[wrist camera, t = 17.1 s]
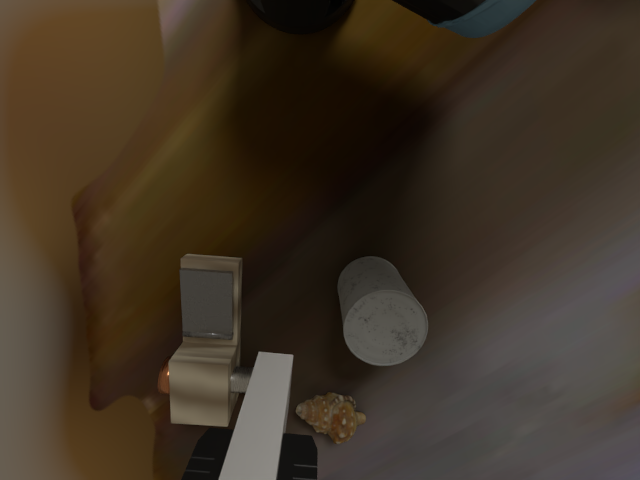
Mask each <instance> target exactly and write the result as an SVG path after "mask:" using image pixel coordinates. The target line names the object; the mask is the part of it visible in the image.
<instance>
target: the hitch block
mask: <svg viewBox="0 0 640 480" xmlns="http://www.w3.org/2000/svg"><path fill="white" fill-rule="evenodd" d="M181 268H195V269H209V270H222V271H233V332H234V336H233V340H223V339H209V338H194V337H183V343H182V344H181V345H180V347H179V348H178V349H177V351H176V352H175V353H174V355H173V356H172V358H171V359H170V360H169V362H168V363H169V386H170V409H171V423H177V424H193V425H209V426H225V427H228V424H229V421H230V418H231V416H232V413H233V410H234V407H235V404H236V401H237V398H238V395H239V393H234V392H231V375H232V372H233V370H234V367H235V366H240V344H241V294H242V258H235V257H222V256H209V255H195V254H186V255H185V256H183V257H182V258H181Z"/></svg>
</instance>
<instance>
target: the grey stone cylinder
mask: <svg viewBox="0 0 640 480" xmlns="http://www.w3.org/2000/svg"><path fill="white" fill-rule="evenodd" d="M337 286H338V295H339V300H340V307H341V314H342V321H343V332H344V338H345V341H346V344H347V346H348V347H349V349H350V351H351V352H352V353H353V354H354V355H355V356H356V357H357V358H359V359H361V360H362V361H364V362H366V363H369V364H372V365H378V366H391V365H395V364H399V363H402V362H404V361H406V360H408V359H409V358H411V357H412V356H413V355H415V354H416V353H417V352H418V350H419V349H420V348H421V347H422V345H423V343H424V341H425V340H426V336H427V332H428V320H427V315H426V313H425V311H424V309H423V307H422V305H421V304H420V303H419V302H418V301H417V300H416V298H415V297H414V295H413V294H412V292H411V291H410V289H409V288H408V286H407V285H406V283H405V282H404V280H403V279H402V278H401V276H400V275H399V273H398V271H397V269H396V268H395V267H394V266H393V265H392V264H391V263H390V262H388V261H387V260H385V259H382V258H380V257H374V256H367V257H362V258H358V259H356V260H354V261H352V262H351V263H350V264H348V265H347V266H346V267H345V268H344V270H343V271H342V272H341V275H340V277H339V280H338V285H337Z"/></svg>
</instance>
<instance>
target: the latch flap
mask: <svg viewBox="0 0 640 480" xmlns="http://www.w3.org/2000/svg"><path fill="white" fill-rule="evenodd" d="M180 286H181V304H182V323H183V337H194V338H209V339H223V340H233V336H234V332H233V271H222V270H209V269H195V268H181V269H180Z"/></svg>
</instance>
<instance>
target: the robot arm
mask: <svg viewBox="0 0 640 480" xmlns="http://www.w3.org/2000/svg"><path fill="white" fill-rule="evenodd" d="M246 1H247V2H248V4H249V5H250V7H251V8H252V9H253V11H254V12H255V13H256V14H257V15H258V16H259V17H260V18H261V19H262V20H264V21H265V22H266V23H268V24H269V25H271V26H272V27H274V28H276V29H278V30H281V31H284V32H287V33H293V34H308V33H313V32H317V31H320V30H322V29H324V28H327V27H328V26H330V25H332V24H333V23H334V22H336V21H337V20H338V19H339V18H340V17H341V16H342V15H343V14H344V13H345V12H346V11H347V9H348V8H349V7H350V5H351V4H352V2H353V0H246ZM392 1H394V2H396V3H398V4H400V5H401V6H403V7H405V8H407V9H409V10H411V11H412V12H414V13H416V14H418V15H420V16H422V17H423V18H425V19H427V21H428V22H429V23H430V24H432V25H433V26H437V27H445V28H447V29H449V30H451V31H453V32H455V33H457V34H460V35H462V36H464V37H469V38H479V37H483V36H487V35H489V34H491V33H494V32H496V31H498V30H499V29H501V28H503V27H504V26H506V25H507V24H509V23H510V22H511V21H513V20H514V19H515V18H517V17H518V16H519V15H520V14H521V13H523V12H524V11H525V10H526V9H527V8H529V7H530V6H531V5H532V4H533V3H534V2H535V1H536V0H392ZM292 364H293V355H289V354H279V353H268V352H259V353H258V356H257V359H256V362H255V366H254V369H253V372H252V375H251V378H250V381H249V385H248V388H247V391H246V394H245V397H244V401H243V404H242V407H241V410H240V413H239V416H238V420H237V423H236V426H235V429H234V430H229V429H218V428H209V429H208V430H207V431H206V432H205V433H204V435H203V436H202V437H201V438H200V439H199V440H198V442H197V444H196V446H195V449H194V451H193V453H192V456H191V459H190V460H189V463H188V465H187V467H186V471H185V472H184V474H183V477H182V479H181V480H317V447H316V445H315V442H314V440H313V438H312V436H309V435H298V434H286V433H285V430H286V422H287V415H288V407H289V397H290V386H291V375H292Z"/></svg>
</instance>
